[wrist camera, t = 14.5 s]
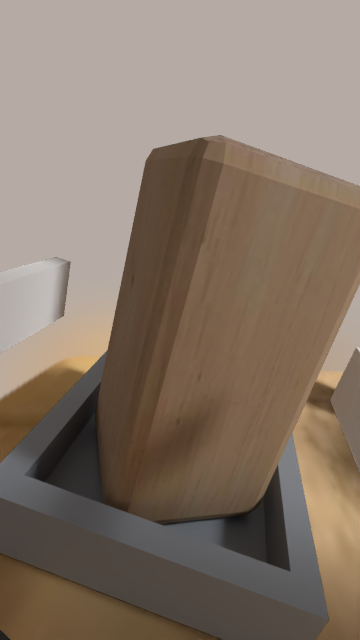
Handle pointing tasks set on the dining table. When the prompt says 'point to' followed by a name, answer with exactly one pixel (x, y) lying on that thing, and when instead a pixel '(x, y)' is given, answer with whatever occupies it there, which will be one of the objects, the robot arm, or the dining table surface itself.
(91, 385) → the gray square tray
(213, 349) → the wooden block
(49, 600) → the dining table surface
